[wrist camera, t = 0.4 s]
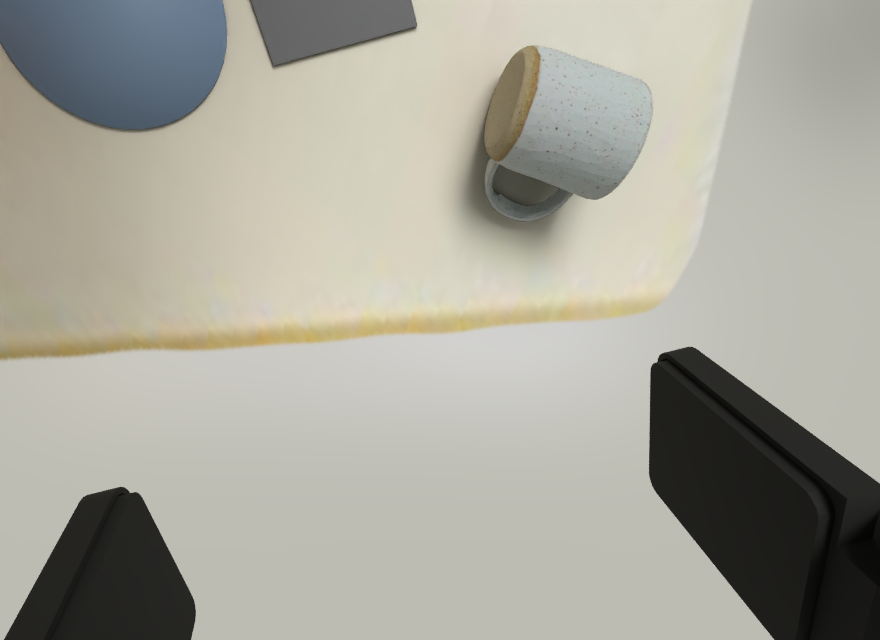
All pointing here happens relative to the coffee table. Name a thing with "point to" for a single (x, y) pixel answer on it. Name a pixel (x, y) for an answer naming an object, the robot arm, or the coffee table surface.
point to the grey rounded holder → (564, 127)
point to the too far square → (327, 24)
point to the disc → (118, 55)
